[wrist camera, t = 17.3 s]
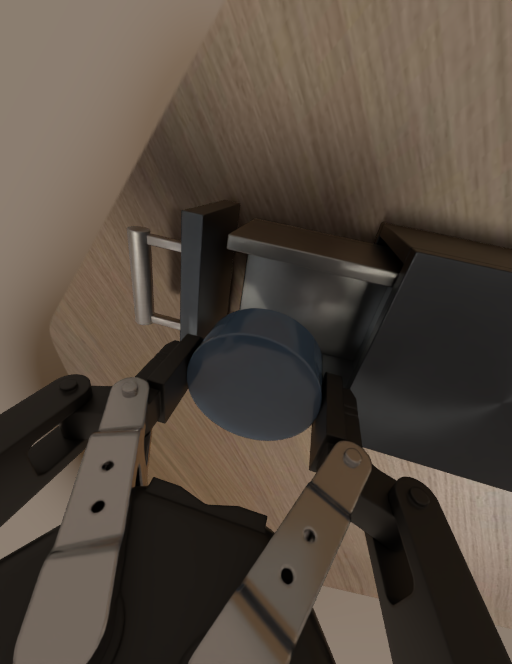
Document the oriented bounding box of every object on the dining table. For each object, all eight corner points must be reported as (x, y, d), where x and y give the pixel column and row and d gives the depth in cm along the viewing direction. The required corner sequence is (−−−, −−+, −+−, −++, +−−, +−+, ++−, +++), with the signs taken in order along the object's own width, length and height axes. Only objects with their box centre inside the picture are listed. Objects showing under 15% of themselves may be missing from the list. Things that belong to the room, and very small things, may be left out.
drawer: (165, 318, 26) (119, 358, 20) (162, 186, 20) (94, 190, 14) (354, 369, 24) (363, 430, 18) (415, 240, 18) (457, 271, 12)
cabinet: (326, 361, 25) (326, 436, 18) (381, 221, 18) (416, 251, 11) (489, 406, 24) (561, 507, 16) (615, 270, 17) (829, 341, 10)
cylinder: (187, 360, 15) (164, 389, 13) (248, 281, 11) (231, 303, 9) (272, 421, 15) (263, 457, 13) (350, 362, 12) (355, 399, 10)
